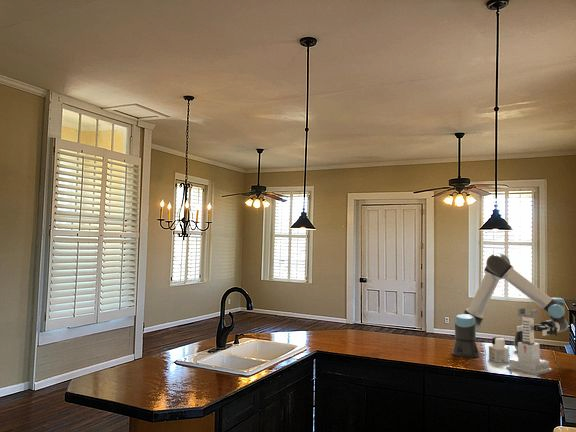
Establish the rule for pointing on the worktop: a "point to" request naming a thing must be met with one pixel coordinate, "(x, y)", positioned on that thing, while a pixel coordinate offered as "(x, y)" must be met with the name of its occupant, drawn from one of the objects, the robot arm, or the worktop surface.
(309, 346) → the worktop surface
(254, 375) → the worktop surface
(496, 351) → the container
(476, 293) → the robot arm
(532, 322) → the jack stand column
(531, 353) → the jack stand base
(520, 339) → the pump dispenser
